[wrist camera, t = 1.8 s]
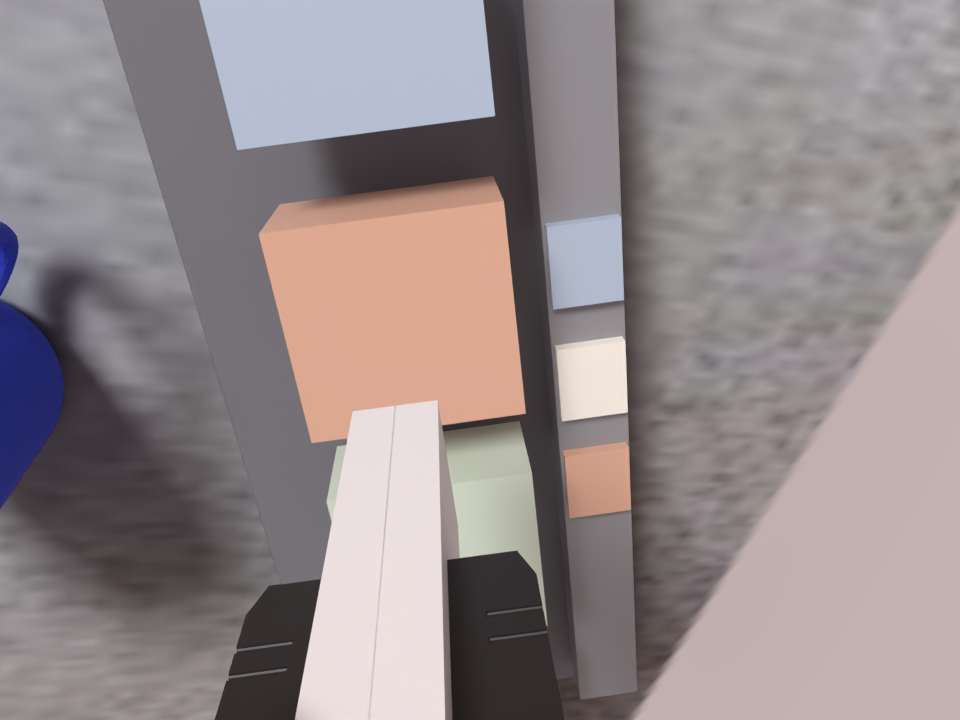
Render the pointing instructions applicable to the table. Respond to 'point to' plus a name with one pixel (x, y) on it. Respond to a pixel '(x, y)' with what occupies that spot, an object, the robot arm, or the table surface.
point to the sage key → (485, 492)
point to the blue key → (347, 66)
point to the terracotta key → (397, 302)
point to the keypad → (534, 268)
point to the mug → (23, 382)
